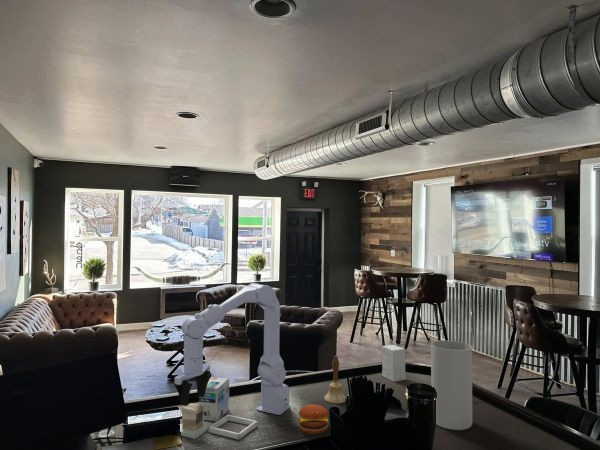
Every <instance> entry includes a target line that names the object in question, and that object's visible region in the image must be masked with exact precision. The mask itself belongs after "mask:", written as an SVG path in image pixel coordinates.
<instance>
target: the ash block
mask: <svg viewBox="0 0 600 450" xmlns="http://www.w3.org/2000/svg"><path fill="white" fill-rule="evenodd" d="M181 415H182V417H181V418H182V419H181V420H182V421H181V424H182V427H183V428H186V429H190V430H194V431H195V430H197V429H199V428H200V427H202V426H203V424H204V421H205V420H204V406H201V405H199V404H196V403H191V402H190V403H188V406H183V407H182V414H181Z"/></svg>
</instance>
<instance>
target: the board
mask: <svg viewBox="0 0 600 450" xmlns="http://www.w3.org/2000/svg"><path fill="white" fill-rule="evenodd" d="M213 424H214V423H213V422H208V421H206V420H204V424H203V426H202V427H200V428H199V429H197V430H195V431H194V430H190V429H186V428H183V427H182V423H180V424H179V425H180V432H181V435H180V436H181V437H185V438H186V437H187V438H189V439H195V440H196V439H197V438H198V437H200V436H201V435H203V434H204V433H206V432H208V430H209V426H211V425H213Z"/></svg>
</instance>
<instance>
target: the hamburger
mask: <svg viewBox="0 0 600 450" xmlns="http://www.w3.org/2000/svg"><path fill="white" fill-rule="evenodd" d="M328 415H329V411H328V409H326V408H325V407H324V406H323V405H319V404H307V405H304V406H302V407H301V408H300V409H299V410H298V421H299V422H298V423H299V424H298V428H299V430H300V431H302V432H303V433H306V434H314V435H316V434H321V433H324V432H326V431H327V430H328V423H329V418H328Z"/></svg>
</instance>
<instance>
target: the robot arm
mask: <svg viewBox="0 0 600 450" xmlns="http://www.w3.org/2000/svg"><path fill="white" fill-rule="evenodd" d="M276 293H277V292H276V290H275V289H274V288H272V286H270V285H267V284H259V283H256V282H252V283H250V284H248V285H246V286H243V288H242V289H240V290H239V291H238V292H236V293H235V294H234V295H232V296H230V297H229V298H228V299H226V300H225V301H223V302H222V303H220V304H216V303H215V304H209V305H207V308H206V309H204V310H202V311H201V312H199V313H198V312H197V313H195V314H194V316H192V317H191V316H190V317H188V318H186V319H185V320H184V321H183V323H182V325H181V326H180V330H181V332H182V334H184V336H183V339H184V340H183V369H181V373H180V374H178V375H177V376H175V377H174V381H173V386H174V388H175V389H176V391H177V393H178V396H179V399H180V401H179V402H180V405H181V406H183V407H185V406H188V405H189V404H190V403H189V402H190V394H191V389H192V387H193V383H190V382H189V380H191V379H195V383H196V396H197V397H199V398H200V397H204V395H205V391H206V387H207V384H208V382H209V379H210V378H211V377H212V372H210V371H211V365H210V364H207V363H206V364H205V363H204V364H203V362H204V361H203V360H204V354H203V353H204V339H203V338H204V336H205V334H206V332H207V330H209V329H211V328H213V326H216V325H217V324H218V323H220V322H221V321H223V320H224V319H225V315H226V314H227V313H229V312H231V311H233V310H234V309H236V308H238V307H240V306H242V305H244V304H245V303H253V304H257V305H258V306H259V307H260V308H262V309H263V312H264V313H263V314H264V316H263V354H262V356H261V357H260V358H259V359H260V362H259V365H258V367H257V374H258V377H260V381H261V382H260V383H261V385H260V389H261V392H260V395H261V396H260V397H261V398H260V401H261V402H260V405H259V406H257V408H256V409H255V410H256V411H259V412H265V413H268V414H273V415H278V416H280V415H282V414H283V413H285V411H287V410H289V408H290V407H291V405H290V387H289V385H287V384H285V383H283V382H285V380H286V377H287V371H286V369H285V365H284V364H285V363H284V360H283V359H282V357H281V355H280V332H281V331H280V329H281V328H280V323H281V320H280V319H281V317H280V316H281V312H280V311H281V308H280V307H281V305H280V302H279V300H278V297H277V295H276Z"/></svg>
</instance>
